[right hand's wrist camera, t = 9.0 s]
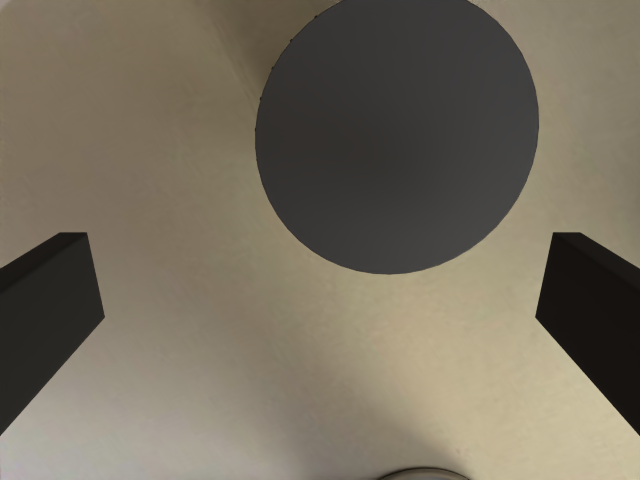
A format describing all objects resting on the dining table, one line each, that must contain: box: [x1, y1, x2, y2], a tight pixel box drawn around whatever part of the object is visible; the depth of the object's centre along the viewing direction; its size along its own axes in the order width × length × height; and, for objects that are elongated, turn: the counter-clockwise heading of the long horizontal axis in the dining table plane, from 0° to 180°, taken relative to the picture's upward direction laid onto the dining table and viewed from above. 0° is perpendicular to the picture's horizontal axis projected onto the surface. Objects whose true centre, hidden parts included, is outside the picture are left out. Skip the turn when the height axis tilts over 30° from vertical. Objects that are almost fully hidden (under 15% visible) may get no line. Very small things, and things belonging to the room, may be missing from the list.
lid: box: [255, 0, 539, 275], centre depth 18 cm, size 11×11×2 cm
